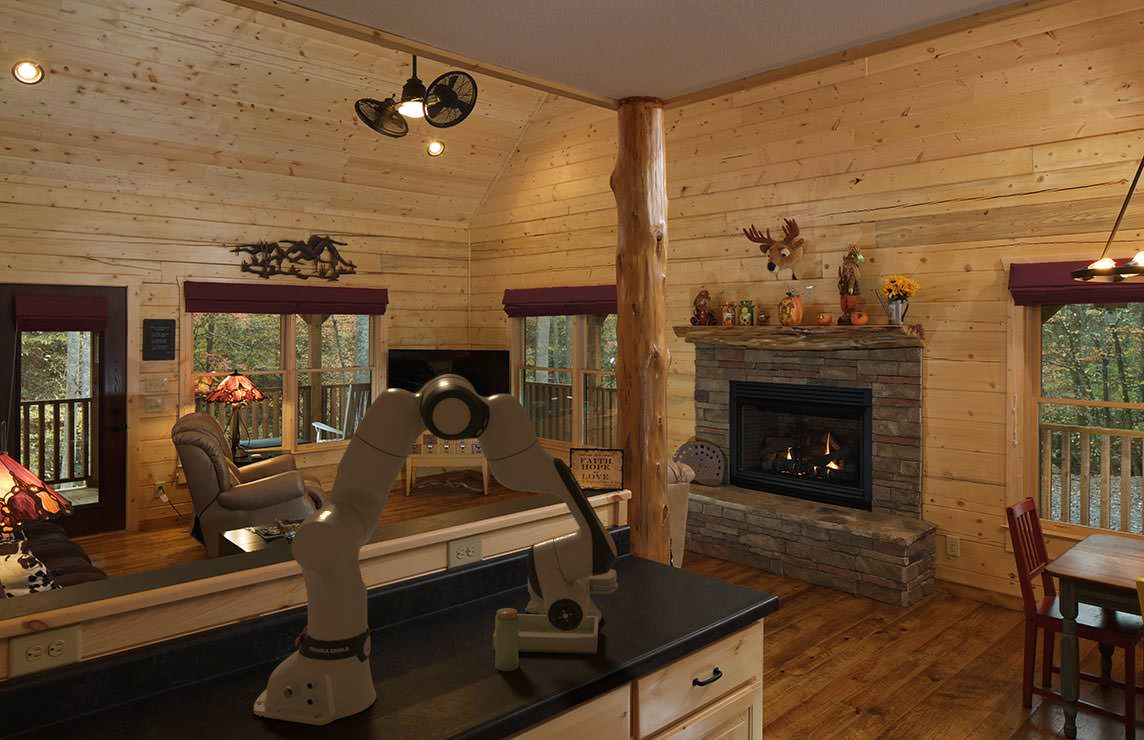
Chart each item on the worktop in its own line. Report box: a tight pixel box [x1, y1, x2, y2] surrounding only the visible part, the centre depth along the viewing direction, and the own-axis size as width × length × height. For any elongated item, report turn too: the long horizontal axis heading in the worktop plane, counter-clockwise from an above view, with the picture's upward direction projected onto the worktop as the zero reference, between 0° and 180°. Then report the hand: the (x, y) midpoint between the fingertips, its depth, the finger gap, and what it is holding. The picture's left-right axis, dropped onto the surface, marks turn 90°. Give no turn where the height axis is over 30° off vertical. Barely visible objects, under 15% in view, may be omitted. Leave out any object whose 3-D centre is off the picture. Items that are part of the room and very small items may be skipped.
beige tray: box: [492, 613, 599, 655], centre depth 177 cm, size 24×14×4 cm, turn 87°
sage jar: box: [494, 607, 520, 672], centre depth 163 cm, size 5×5×12 cm
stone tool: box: [524, 595, 603, 624], centre depth 194 cm, size 20×3×25 cm
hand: (573, 569), depth 177 cm, fingers closed on birch block, 4 cm apart
